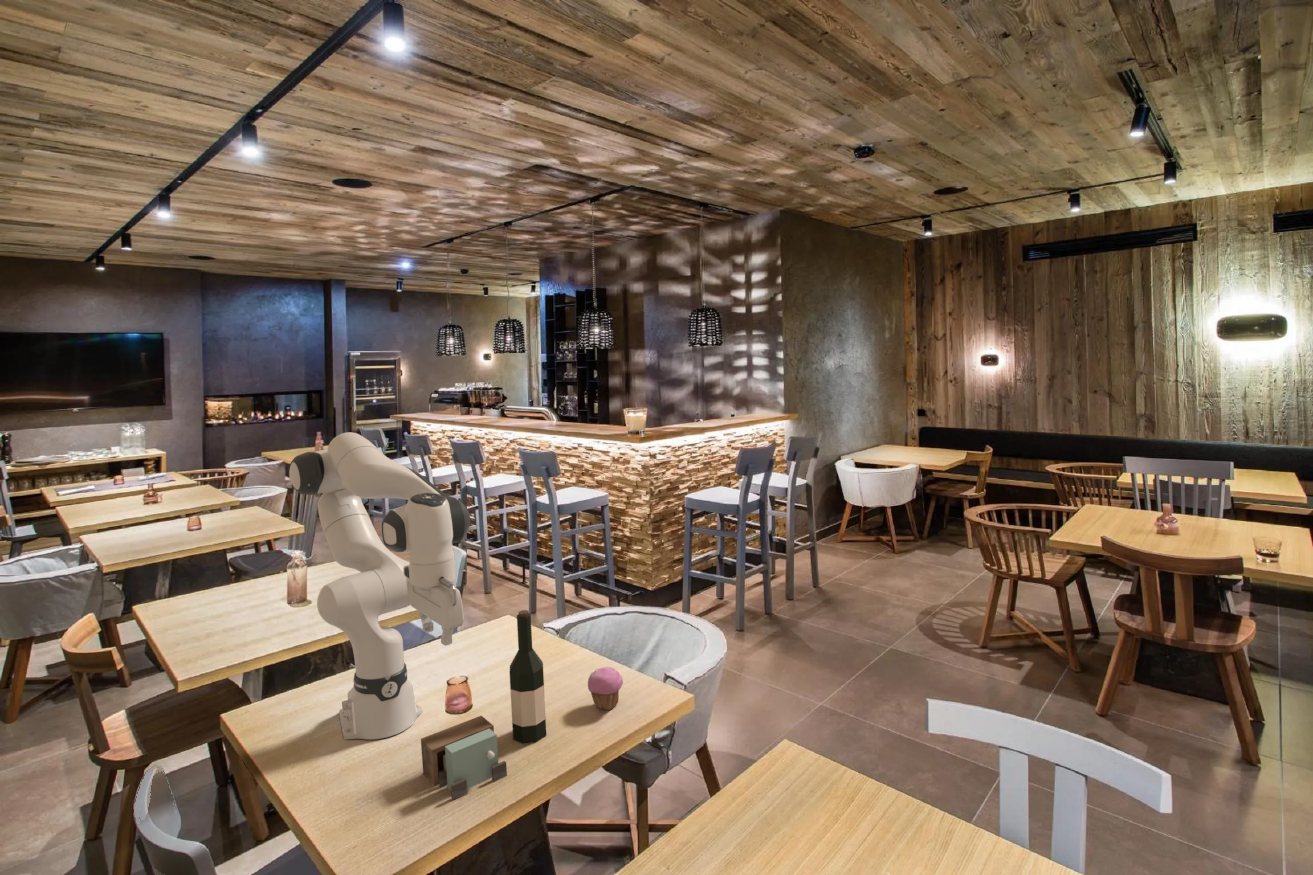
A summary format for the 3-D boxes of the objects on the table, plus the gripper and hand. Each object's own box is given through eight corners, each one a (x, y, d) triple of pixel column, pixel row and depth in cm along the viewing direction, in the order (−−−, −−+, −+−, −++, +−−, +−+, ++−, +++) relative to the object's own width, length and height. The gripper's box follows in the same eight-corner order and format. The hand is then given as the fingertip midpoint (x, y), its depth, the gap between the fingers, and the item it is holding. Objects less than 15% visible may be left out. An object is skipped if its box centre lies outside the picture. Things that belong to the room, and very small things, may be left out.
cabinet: (423, 773, 145) (420, 738, 144) (483, 748, 154) (481, 715, 153) (448, 802, 135) (446, 764, 134) (511, 773, 144) (509, 738, 143)
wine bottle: (539, 745, 154) (533, 619, 151) (506, 742, 156) (499, 617, 153) (552, 726, 163) (546, 606, 160) (520, 723, 164) (514, 604, 161)
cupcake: (628, 701, 174) (627, 664, 173) (614, 717, 166) (613, 678, 165) (597, 696, 177) (596, 659, 176) (582, 711, 169) (581, 673, 168)
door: (447, 786, 140) (444, 746, 139) (491, 767, 146) (489, 728, 145) (457, 797, 136) (454, 755, 136) (501, 776, 143) (499, 736, 142)
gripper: (469, 580, 132) (473, 647, 134) (428, 560, 148) (432, 620, 149) (438, 587, 128) (443, 657, 130) (400, 566, 144) (404, 628, 145)
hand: (437, 637), depth 140 cm, fingers open, 8 cm apart
